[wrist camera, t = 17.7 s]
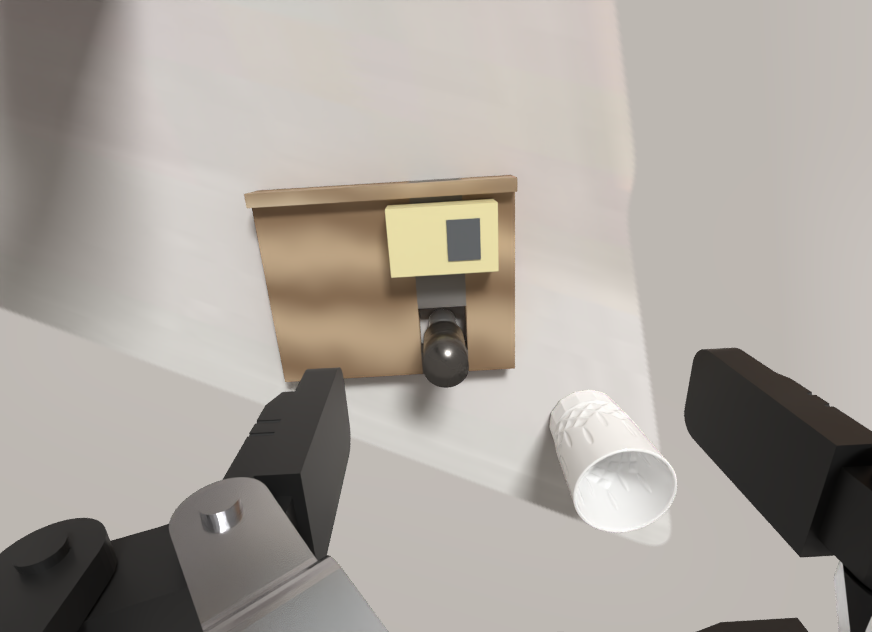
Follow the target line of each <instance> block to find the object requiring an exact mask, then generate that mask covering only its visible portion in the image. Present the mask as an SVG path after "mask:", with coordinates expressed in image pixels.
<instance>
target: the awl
mask: <svg viewBox="0 0 872 632" xmlns="http://www.w3.org/2000/svg"><path fill="white" fill-rule="evenodd" d="M423 370H424V374H425V376H426V378H427V379H428V380H429V381H430V382H431V383H432V384H434V385H436V386H439V387H444V388H447V387H453V386H456V385H458V384H459V383H461V382H462V381H463V380H464V379H465V378H466V376H467V374H468V371H469V362H468V357H467V351H466V346H465V341H464V335H463V332H462V330H461V329H460V327H459V326H458V325H457V324H456V318H455V316H454V314H453V313H452V312H451V311H449V310H447V309H438V310H436V311H434V312H433V313H432V314H431V315H430V317H429V327H428V329H427V330H426V332H425V335H424V355H423Z"/></svg>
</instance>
